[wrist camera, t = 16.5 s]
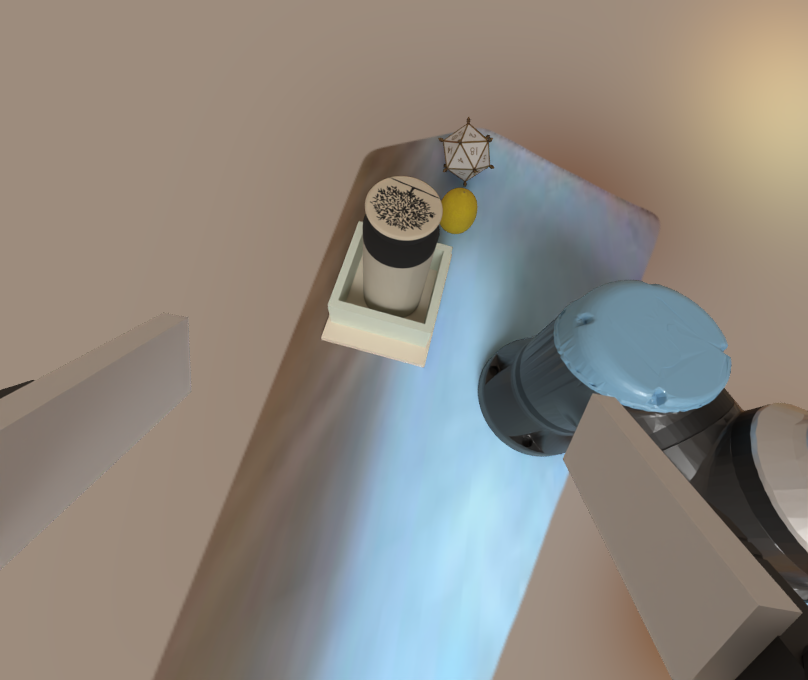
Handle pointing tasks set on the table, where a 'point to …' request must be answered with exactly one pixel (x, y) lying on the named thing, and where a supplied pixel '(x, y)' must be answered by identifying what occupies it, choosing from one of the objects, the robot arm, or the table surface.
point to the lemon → (458, 210)
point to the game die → (466, 152)
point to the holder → (378, 329)
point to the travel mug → (399, 243)
